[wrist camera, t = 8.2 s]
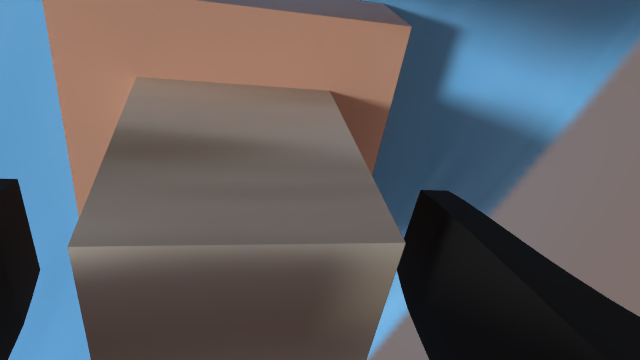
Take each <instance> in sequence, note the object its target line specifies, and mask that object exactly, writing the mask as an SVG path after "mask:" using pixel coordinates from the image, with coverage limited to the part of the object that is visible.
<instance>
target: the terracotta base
mask: <svg viewBox="0 0 640 360" xmlns="http://www.w3.org/2000/svg"><path fill="white" fill-rule="evenodd" d="M42 1H43V7H44V13H45V19H46V25H47V31H48V37H49V43H50V49H51V54H52V60H53V66H54V72H55V78H56V84H57V90H58V96H59V102H60V108H61V114H62V120H63V126H64V131H65V137H66V143H67V149H68V155H69V161H70V167H71V173H72V179H73V185H74V191H75V197H76V203H77V208H78V214H79V217H80V215H81V212H82V210H83V207H84V205H85V202H86V200H87V197H88V195H89V192H90V190H91V188H92V185H93V183H94V180H95V178H96V175H97V173H98V170H99V168H100V165H101V163H102V160H103V158H104V155H105V153H106V150H107V148H108V146H109V143H110V141H111V138H112V136H113V133H114V131H115V128H116V126H117V123H118V121H119V118H120V116H121V113H122V111H123V108H124V106H125V103H126V101H127V99H128V96H129V94H130V91H131V89H132V86H133V84H134V81H135V79H136V77H146V78H160V79H174V80H188V81H202V82H216V83H230V84H244V85H258V86H272V87H286V88H300V89H314V90H328V91H330V93H331V95H332V97H333V99H334V101H335V103H336V105H337V107H338V109H339V111H340V113H341V115H342V117H343V119H344V121H345V123H346V125H347V127H348V129H349V131H350V133H351V135H352V137H353V139H354V141H355V143H356V145H357V147H358V149H359V151H360V153H361V155H362V157H363V159H364V161H365V163H366V165H367V167H368V169H369V171H370V173H371V175H373V171H374V167H375V164H376V160H377V156H378V152H379V149H380V145H381V141H382V137H383V134H384V130H385V126H386V122H387V119H388V115H389V111H390V107H391V103H392V100H393V96H394V92H395V88H396V85H397V81H398V77H399V73H400V70H401V66H402V62H403V58H404V55H405V51H406V47H407V43H408V40H409V36H410V32H411V28H412V26H411V25H409V24H408V23H407V22H406V21H404V20H403V19H402V18H401V17H399V16H398V15H397V14H396V13H395V12H393V11H392V10H391V9H390V8H388V7H387V6H386V5H385V4H382V3H374V2H367V1H359V0H42Z"/></svg>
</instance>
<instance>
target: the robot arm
mask: <svg viewBox="0 0 640 360" xmlns="http://www.w3.org/2000/svg"><path fill="white" fill-rule="evenodd" d="M404 241H405V243H406V244H405V246H404V249H403V252H402V255H401V258H400V261H399V264H398V267H397V272H398V276H399V280H400V284H401V288H402V291H403V294H404V298H405V301H406V305H407V308H408V310H409V313H410V315H411V318H412V320H413V323H414V325H415V327H416V330H417V332H418V334H419V337H420V339H421V341H422V344H423V346H424V348H425V351H426V353H427V355H428V357H429V360H640V317H639V316H637V315H636V314H634V313H632V312H630V311H628V310H627V309H625V308H624V307H622V306H620V305H619V304H617V303H615V302H614V301H612V300H610V299H609V298H607V297H605V296H604V295H602V294H601V293H599V292H597V291H596V290H594V289H593V288H591V287H590V286H588V285H587V284H585V283H583V282H582V281H580V280H579V279H577V278H576V277H574V276H573V275H571V274H569V273H568V272H566V271H565V270H564V269H562V268H560V267H559V266H558V265H556V264H554V263H553V262H552V261H550V260H549V259H547V258H546V257H544V256H543V255H541V254H540V253H538V252H537V251H536V250H534V249H533V248H531V247H530V246H529V245H527V244H526V243H524V242H523V241H521V240H520V239H519V238H517V237H516V236H514V235H513V234H511V233H510V232H509V231H507V230H506V229H504V228H503V227H502V226H500V225H499V224H497V223H496V222H495V221H493V220H492V219H490V218H489V217H488V216H486V215H485V214H483V213H482V212H480V211H479V210H477V209H476V208H475V207H473V206H472V205H470V204H469V203H467V202H466V201H464V200H463V199H461V198H459V197H458V196H456V195H454V194H453V193H451V192H449V191H436V190H421V191H420V194H419V197H418V199H417V202H416V205H415V208H414V211H413V214H412V217H411V220H410V223H409V226H408V229H407V232H406V234H405V237H404ZM39 272H40V267H39V263H38V259H37V255H36V251H35V247H34V243H33V239H32V235H31V231H30V227H29V223H28V219H27V215H26V211H25V207H24V203H23V199H22V195H21V191H20V187H19V183H18V179H0V360H8V358H9V356H10V354H11V352H12V349H13V347H14V345H15V343H16V341H17V338H18V336H19V334H20V332H21V329H22V327H23V325H24V322H25V319H26V315H27V312H28V309H29V306H30V303H31V300H32V296H33V293H34V289H35V286H36V282H37V279H38V275H39Z"/></svg>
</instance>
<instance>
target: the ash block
mask: <svg viewBox="0 0 640 360" xmlns="http://www.w3.org/2000/svg"><path fill="white" fill-rule="evenodd" d="M405 244H406V243H405V241H404V239H403V237H402V235H401V233H400V231H399V229H398V227H397V225H396V223H395V221H394V219H393V217H392V215H391V213H390V211H389V209H388V207H387V205H386V203H385V201H384V199H383V197H382V195H381V193H380V191H379V189H378V187H377V185H376V183H375V181H374V179H373V177H372V175H371V173H370V171H369V169H368V167H367V165H366V163H365V161H364V159H363V157H362V155H361V153H360V151H359V149H358V147H357V145H356V143H355V141H354V139H353V137H352V135H351V133H350V131H349V129H348V127H347V125H346V123H345V121H344V119H343V117H342V115H341V113H340V111H339V109H338V107H337V105H336V103H335V101H334V99H333V97H332V95H331V93H330V91H328V90H314V89H300V88H286V87H272V86H258V85H244V84H230V83H216V82H202V81H188V80H174V79H160V78H146V77H136V79H135V81H134V84H133V86H132V89H131V91H130V94H129V96H128V99H127V101H126V103H125V106H124V108H123V111H122V113H121V116H120V118H119V121H118V123H117V126H116V128H115V131H114V133H113V136H112V138H111V141H110V143H109V146H108V148H107V150H106V153H105V155H104V158H103V160H102V163H101V165H100V168H99V170H98V173H97V175H96V178H95V180H94V183H93V185H92V188H91V190H90V192H89V195H88V197H87V200H86V202H85V205H84V207H83V210H82V212H81V215H80V217H79V220H78V222H77V225H76V227H75V230H74V232H73V235H72V237H71V239H70V242H69V244H68V252H69V256H70V261H71V266H72V271H73V275H74V280H75V285H76V290H77V295H78V299H79V304H80V309H81V314H82V318H83V323H84V328H85V333H86V338H87V342H88V347H89V352H90V357H91V360H366V359H367V356H368V353H369V351H370V348H371V345H372V342H373V339H374V336H375V333H376V330H377V327H378V324H379V321H380V318H381V315H382V312H383V309H384V306H385V303H386V300H387V297H388V294H389V291H390V288H391V285H392V282H393V279H394V276H395V273H396V270H397V267H398V264H399V261H400V258H401V255H402V252H403V249H404V246H405Z"/></svg>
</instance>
